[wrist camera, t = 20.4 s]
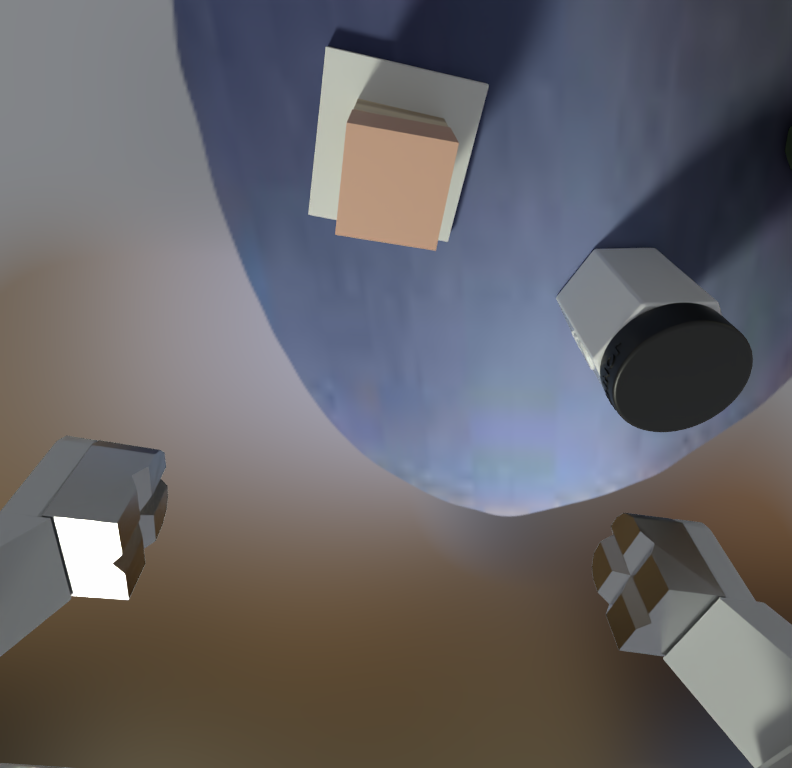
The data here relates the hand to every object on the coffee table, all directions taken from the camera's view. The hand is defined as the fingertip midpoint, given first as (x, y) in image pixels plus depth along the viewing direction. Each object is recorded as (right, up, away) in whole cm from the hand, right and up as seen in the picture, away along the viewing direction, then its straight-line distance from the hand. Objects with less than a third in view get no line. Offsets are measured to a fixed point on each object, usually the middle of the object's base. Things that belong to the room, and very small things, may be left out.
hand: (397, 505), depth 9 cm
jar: (+17, +9, +32) cm, 37 cm away
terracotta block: (0, +15, +21) cm, 26 cm away
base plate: (0, +18, +26) cm, 31 cm away
